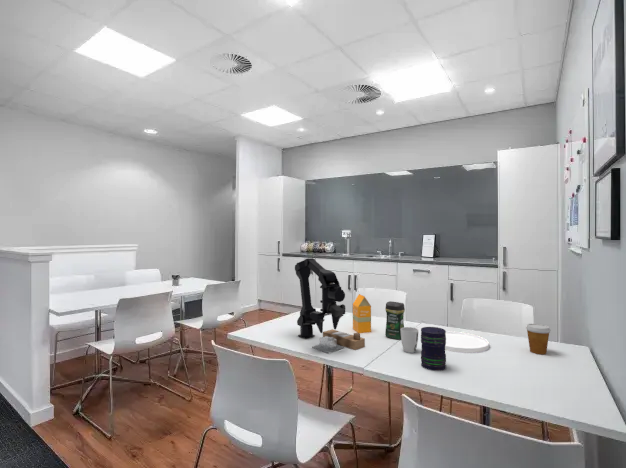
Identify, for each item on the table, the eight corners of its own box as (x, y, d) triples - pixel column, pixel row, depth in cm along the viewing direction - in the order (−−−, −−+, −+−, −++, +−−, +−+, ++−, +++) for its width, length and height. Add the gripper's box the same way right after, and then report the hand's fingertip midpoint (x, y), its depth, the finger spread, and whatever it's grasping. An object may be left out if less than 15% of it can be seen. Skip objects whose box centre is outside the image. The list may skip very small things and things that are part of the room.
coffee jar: (383, 337, 185) (382, 302, 185) (390, 333, 191) (389, 299, 191) (400, 340, 179) (400, 304, 179) (406, 337, 185) (406, 301, 185)
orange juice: (358, 333, 192) (357, 296, 192) (352, 329, 201) (352, 294, 201) (371, 332, 194) (371, 296, 194) (365, 328, 203) (365, 293, 203)
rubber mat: (311, 347, 169) (311, 346, 169) (328, 342, 176) (328, 341, 176) (328, 353, 161) (328, 352, 161) (344, 347, 168) (344, 347, 168)
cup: (419, 354, 159) (419, 332, 159) (400, 353, 160) (400, 331, 160) (417, 348, 167) (417, 327, 167) (400, 347, 168) (400, 326, 168)
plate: (425, 334, 191) (424, 330, 191) (480, 337, 185) (480, 332, 185) (431, 351, 163) (431, 346, 163) (496, 355, 158) (496, 350, 158)
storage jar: (415, 364, 147) (415, 328, 147) (432, 360, 152) (432, 325, 152) (434, 372, 138) (434, 334, 138) (451, 367, 143) (451, 331, 143)
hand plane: (322, 339, 181) (322, 327, 181) (332, 336, 186) (332, 324, 186) (355, 350, 165) (355, 336, 165) (364, 346, 170) (364, 333, 170)
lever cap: (319, 346, 170) (319, 336, 170) (326, 344, 173) (326, 334, 173) (329, 349, 164) (329, 339, 164) (336, 347, 167) (336, 337, 167)
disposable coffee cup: (547, 350, 163) (546, 324, 163) (553, 356, 154) (553, 329, 154) (523, 347, 167) (523, 322, 167) (528, 354, 158) (528, 327, 158)
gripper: (325, 303, 156) (326, 338, 156) (353, 298, 169) (353, 330, 169) (309, 300, 164) (309, 333, 164) (336, 295, 177) (337, 326, 177)
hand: (328, 331), depth 168 cm, fingers open, 9 cm apart
